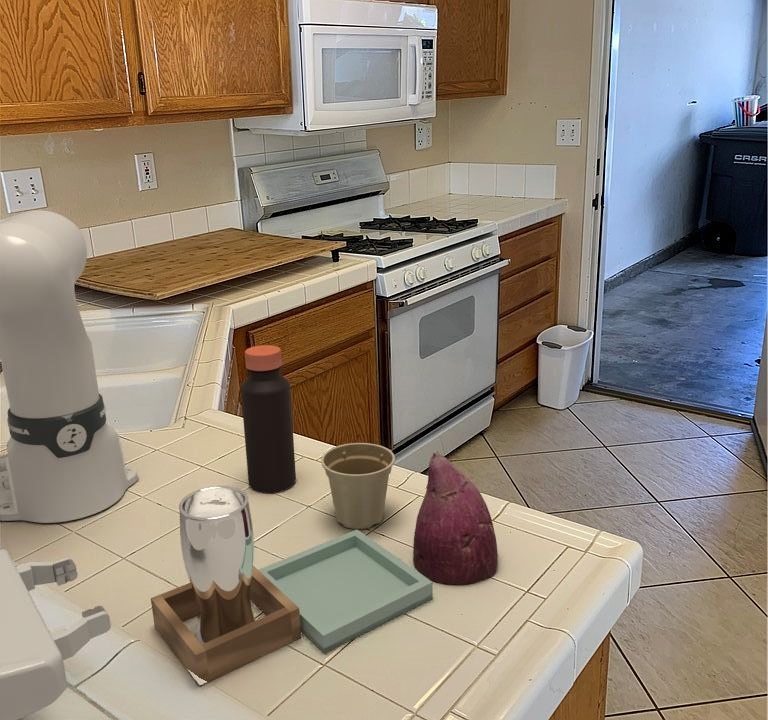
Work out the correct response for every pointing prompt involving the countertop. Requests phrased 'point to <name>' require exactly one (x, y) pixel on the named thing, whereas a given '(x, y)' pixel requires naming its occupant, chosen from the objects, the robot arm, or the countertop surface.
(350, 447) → the flower pot
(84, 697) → the countertop surface
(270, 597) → the frame
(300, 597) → the tray
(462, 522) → the vegetable
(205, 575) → the beer glass
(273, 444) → the bottle
